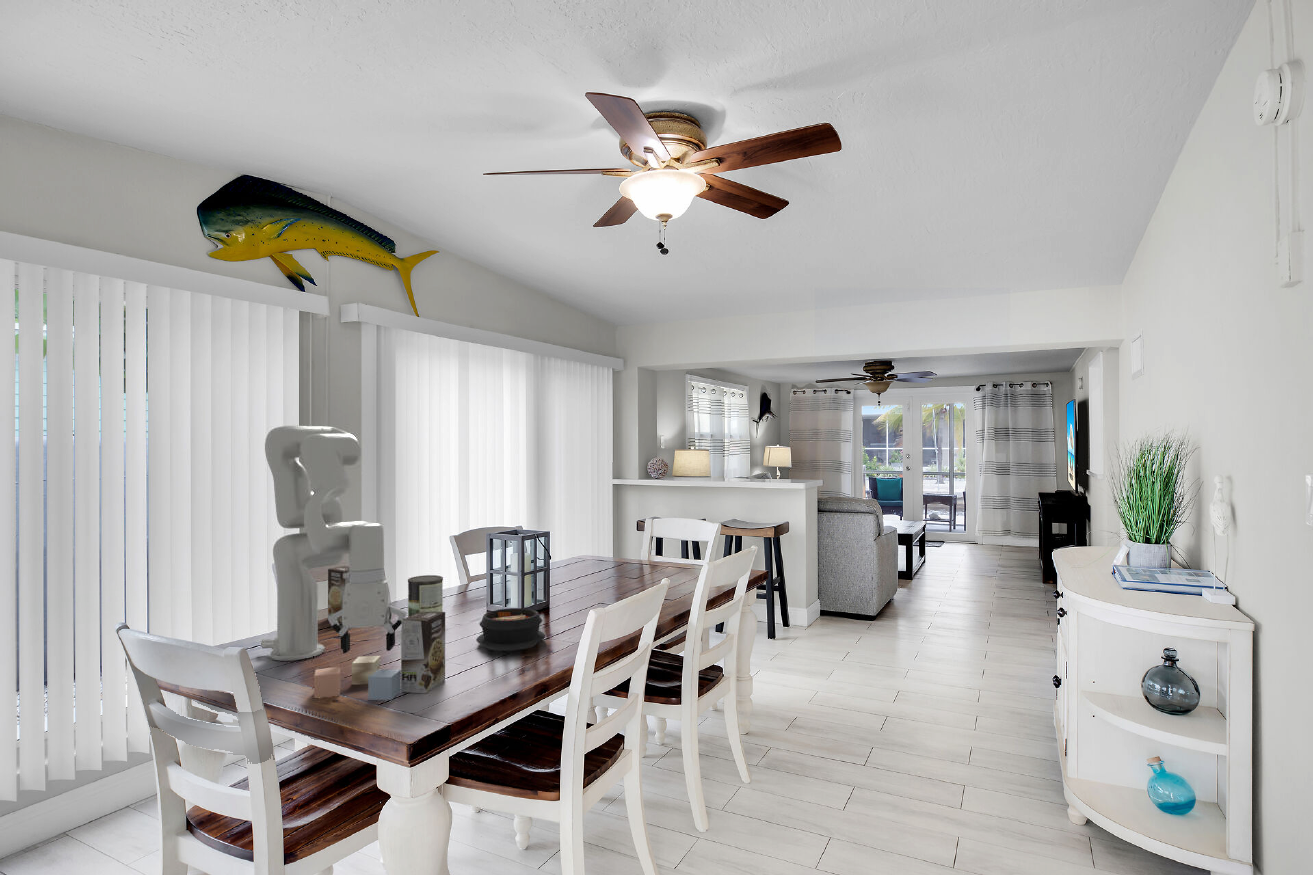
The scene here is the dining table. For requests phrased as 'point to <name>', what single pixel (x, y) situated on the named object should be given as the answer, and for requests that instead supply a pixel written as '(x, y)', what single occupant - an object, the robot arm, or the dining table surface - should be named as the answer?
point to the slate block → (384, 684)
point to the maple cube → (364, 669)
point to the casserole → (510, 629)
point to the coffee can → (425, 594)
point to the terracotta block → (327, 682)
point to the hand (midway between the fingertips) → (368, 650)
